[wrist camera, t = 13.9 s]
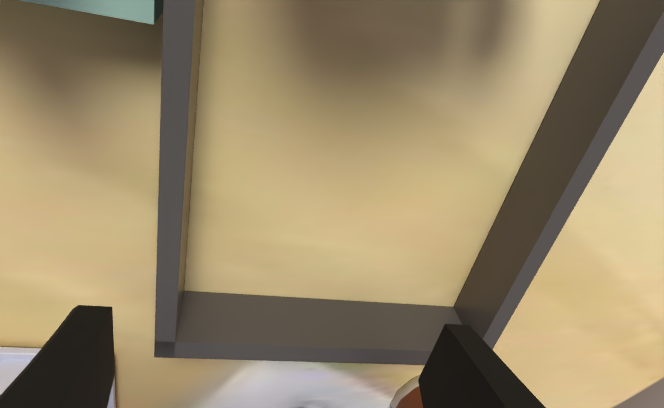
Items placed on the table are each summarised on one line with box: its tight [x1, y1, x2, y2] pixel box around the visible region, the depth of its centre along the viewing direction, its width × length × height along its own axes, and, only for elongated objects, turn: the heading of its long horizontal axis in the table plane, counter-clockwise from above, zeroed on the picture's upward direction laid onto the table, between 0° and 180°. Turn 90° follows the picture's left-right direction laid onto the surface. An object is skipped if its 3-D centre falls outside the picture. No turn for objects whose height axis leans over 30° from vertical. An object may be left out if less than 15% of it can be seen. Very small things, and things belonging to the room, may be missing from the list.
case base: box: [154, 0, 664, 365], centre depth 18 cm, size 18×15×3 cm
